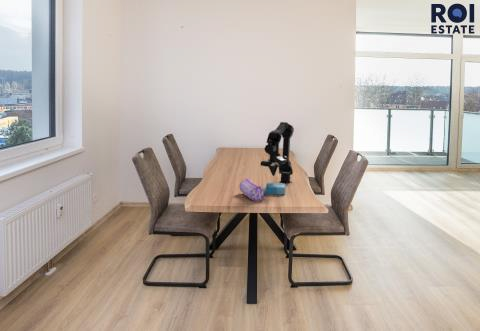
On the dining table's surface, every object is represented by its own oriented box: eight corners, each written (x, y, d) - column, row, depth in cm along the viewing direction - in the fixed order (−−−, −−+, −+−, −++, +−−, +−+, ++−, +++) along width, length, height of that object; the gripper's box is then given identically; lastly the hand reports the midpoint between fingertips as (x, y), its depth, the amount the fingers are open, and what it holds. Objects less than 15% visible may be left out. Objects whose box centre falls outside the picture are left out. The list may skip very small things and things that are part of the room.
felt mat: (263, 187, 291) (263, 187, 291) (281, 192, 279) (281, 192, 279) (250, 190, 283) (250, 190, 283) (267, 195, 271) (267, 194, 271)
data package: (285, 183, 284) (285, 187, 272) (284, 190, 284) (285, 194, 273) (266, 182, 284) (266, 186, 273) (266, 189, 285) (265, 194, 274)
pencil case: (265, 201, 258) (266, 185, 256) (251, 202, 254) (251, 186, 253) (250, 192, 278) (251, 177, 276) (237, 193, 274) (237, 178, 273)
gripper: (272, 154, 269) (272, 179, 272) (293, 152, 281) (292, 176, 284) (260, 152, 277) (259, 176, 280) (280, 149, 289) (280, 173, 292)
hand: (273, 175), depth 284 cm, fingers closed
